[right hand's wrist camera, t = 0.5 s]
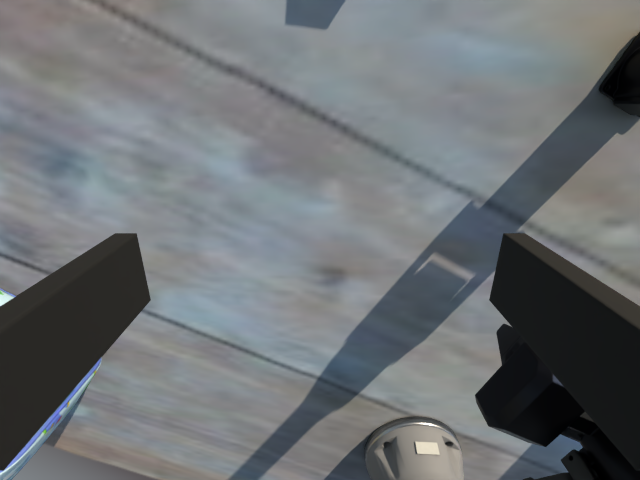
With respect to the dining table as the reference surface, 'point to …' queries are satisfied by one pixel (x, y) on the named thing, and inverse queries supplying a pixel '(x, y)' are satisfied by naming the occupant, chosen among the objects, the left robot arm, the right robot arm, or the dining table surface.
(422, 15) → the dining table surface
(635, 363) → the right robot arm
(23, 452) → the lunch box
